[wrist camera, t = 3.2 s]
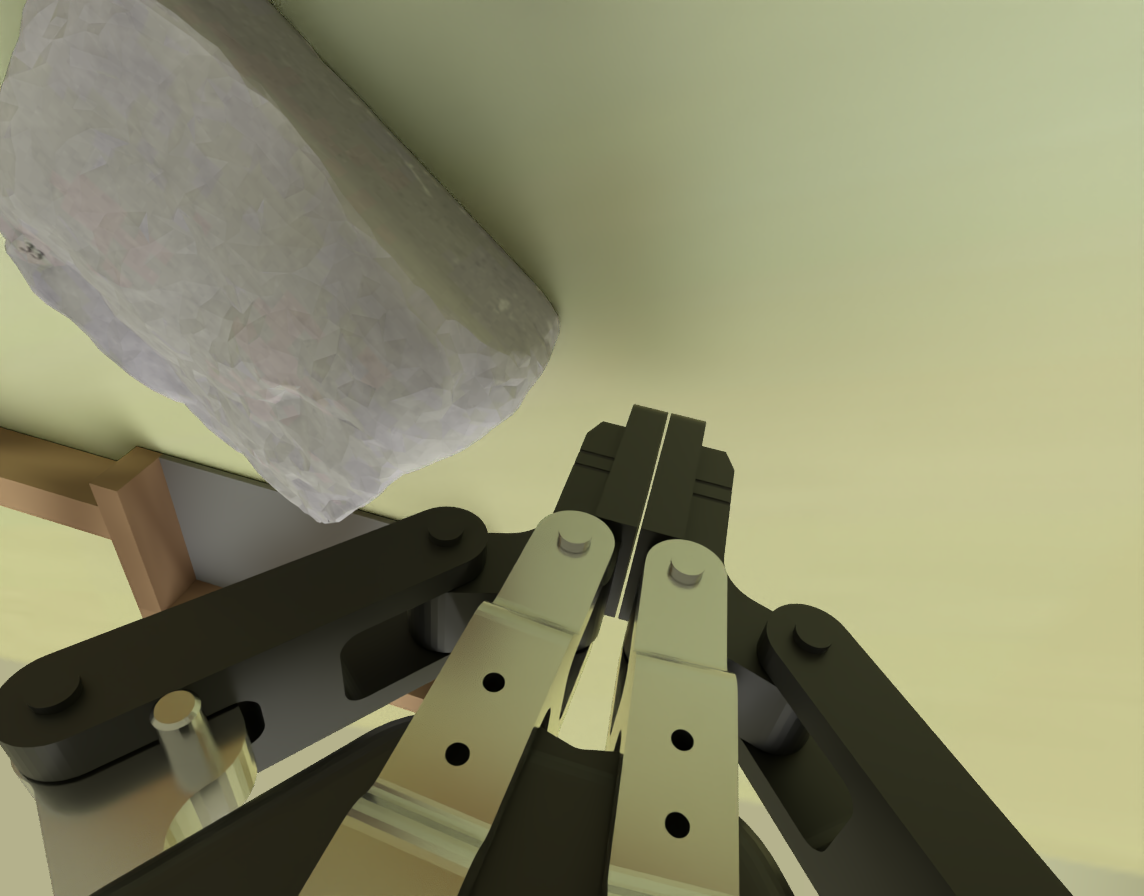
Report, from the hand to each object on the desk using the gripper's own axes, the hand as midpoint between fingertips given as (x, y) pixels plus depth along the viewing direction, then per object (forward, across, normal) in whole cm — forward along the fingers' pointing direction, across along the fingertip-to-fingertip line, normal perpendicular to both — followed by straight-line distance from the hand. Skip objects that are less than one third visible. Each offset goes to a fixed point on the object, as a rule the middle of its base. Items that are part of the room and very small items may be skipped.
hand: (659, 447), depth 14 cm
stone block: (+3, +10, 0) cm, 10 cm away
